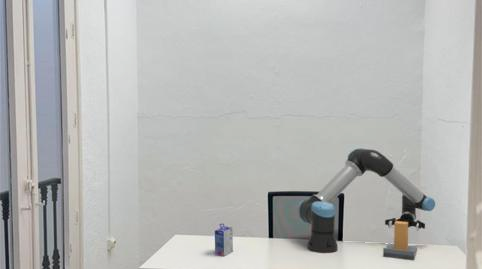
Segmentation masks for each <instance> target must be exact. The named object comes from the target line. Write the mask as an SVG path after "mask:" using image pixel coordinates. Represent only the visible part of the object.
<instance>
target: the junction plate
mask: <svg viewBox="0 0 482 269" xmlns="http://www.w3.org/2000/svg"><path fill="white" fill-rule="evenodd" d="M417 251H418V246H415V245H408V249H407V250H399V249H394V243H387V245H386V246H385V247H383V248H382V257H385V258H394V259H402V260H408V261H410V260H411V261H414V260H415V257H416V255H417Z"/></svg>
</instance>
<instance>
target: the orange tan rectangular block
mask: <svg viewBox="0 0 482 269" xmlns="http://www.w3.org/2000/svg"><path fill="white" fill-rule="evenodd" d="M393 226H394V227H393V228H394V230H393V231H394V233H393V234H394V235H393V236H394V237H393V244H394V249H399V250H407V249H408V246H409V227H408V222H401V221H396V222H395V224H394V225H393Z"/></svg>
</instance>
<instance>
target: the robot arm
mask: <svg viewBox="0 0 482 269" xmlns="http://www.w3.org/2000/svg"><path fill="white" fill-rule="evenodd" d="M344 163H345V165H344V166H343V168H342V169H341V170H340V171H339V172H338V173H336V174H335V176H333V178H331V180H330V181H329V182H327V183H326V185H325V186H324V187H323V188H322V189H321V190H320V191H319V192H318V193H317V194H312V195H311V196H310V197H309V198H308V199H304V200H302V201H300V202H299V204H298V205H297V215H298V217H299V219H301V221H303V222H304V223H307V224H309V225H311V229H310V230H311V233H310V236H309V239H308V241H307V249H308V250H309V251H311V252H316V253H335V252H337V251H338V242H337V239H336V235H335V222H336V220H335V215H336V211H335V210H336V209H335V206H334V204H332V203H333V202H334V201H335V199H337V198H338V196H340V194H341V193H342V192H344V191H345V190H346V188H347V187H348V186H349V185H351V183H352V182H353V181H354V180H355V179H356V178H357V177H361V176H363V174H364V173H366V172H372V173H375V174H377V175H378V176H379V177H381V178H384V179H385V180H387V182H388V183H390V184H391V185H392V186H393V187H395V188H396V189H397V190H398V191H399V192H400V193H401V195H402V196H401V199H402V200H401V215H400V217H399V218H397V219H396V217H393V218H388V219H385V220H384V225H385V226H388V229H391V228H392V226H394V224H395V222H396V221H401V222H408V228H411V227H414V228H415V230H416V232H417V231H419V229H426V223H425V222H422V221H421V220H419V219H416V218H417V214H416V213H417V210H422V211H426V212H431V211H433V210H434V209H435V207H436V201H435V199H434V198H433V197H430V196H427V195H425V194H424V192H422V191H421V190H420V189H419V188H418V187H416V186H415V185H414V184H413V183H412V182H411V181H410V180H409V179H408V178H407V177H405V176H404V174H402V173H401V172H400V171H399V170H398V169H396V167H395V166H394V163H393V162H392V161H391V160H389V159H388V158H387V157H386V156H385V155H384V154H382V153H381V152H379V151H378V150H376V149H368V148H367V149H366V148H354V149H352V150H351V151H350V152H349V153H348V155H347V159H346V160H345V162H344ZM416 209H417V210H416Z"/></svg>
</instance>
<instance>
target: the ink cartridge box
mask: <svg viewBox="0 0 482 269" xmlns="http://www.w3.org/2000/svg"><path fill="white" fill-rule="evenodd" d="M218 225H219V227H220V228H218V229H215V230H214V255H215V256H219V257H226V256H227V255H229V254H231V253H232V252H234V249H233V248H234V236H233V235H234V232H233V230H234V228H233V226H225V224H224V223H223V222H222V223H219V224H218Z"/></svg>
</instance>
